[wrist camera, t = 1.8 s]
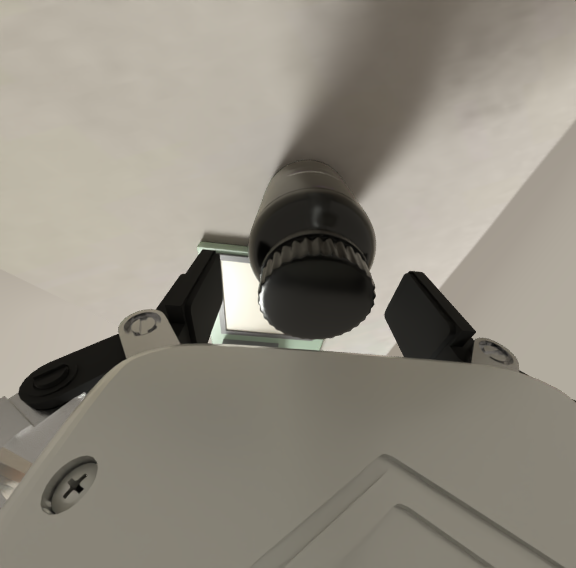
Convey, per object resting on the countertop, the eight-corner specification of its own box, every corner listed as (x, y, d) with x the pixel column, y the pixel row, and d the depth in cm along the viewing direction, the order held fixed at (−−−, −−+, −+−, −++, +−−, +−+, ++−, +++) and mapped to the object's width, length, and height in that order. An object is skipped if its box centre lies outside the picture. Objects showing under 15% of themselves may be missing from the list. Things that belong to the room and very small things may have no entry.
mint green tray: (200, 241, 20) (186, 261, 18) (347, 257, 21) (356, 279, 19) (217, 362, 33) (211, 385, 30) (310, 368, 34) (312, 391, 31)
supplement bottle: (324, 136, 15) (377, 179, 6) (358, 218, 19) (425, 324, 10) (246, 189, 18) (194, 281, 8) (289, 253, 21) (289, 368, 12)
